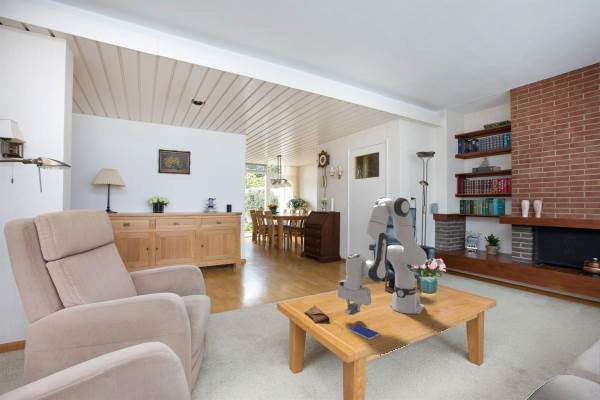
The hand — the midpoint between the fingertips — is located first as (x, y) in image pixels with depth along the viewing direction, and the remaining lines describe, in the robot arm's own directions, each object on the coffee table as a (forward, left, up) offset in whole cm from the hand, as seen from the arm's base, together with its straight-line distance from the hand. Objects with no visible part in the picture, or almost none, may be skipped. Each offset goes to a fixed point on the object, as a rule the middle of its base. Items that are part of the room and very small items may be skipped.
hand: (353, 309), depth 157 cm
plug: (+1, 0, -2) cm, 2 cm away
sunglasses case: (+11, -18, -7) cm, 22 cm away
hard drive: (+9, +12, -7) cm, 16 cm away
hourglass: (-69, -9, -7) cm, 70 cm away
